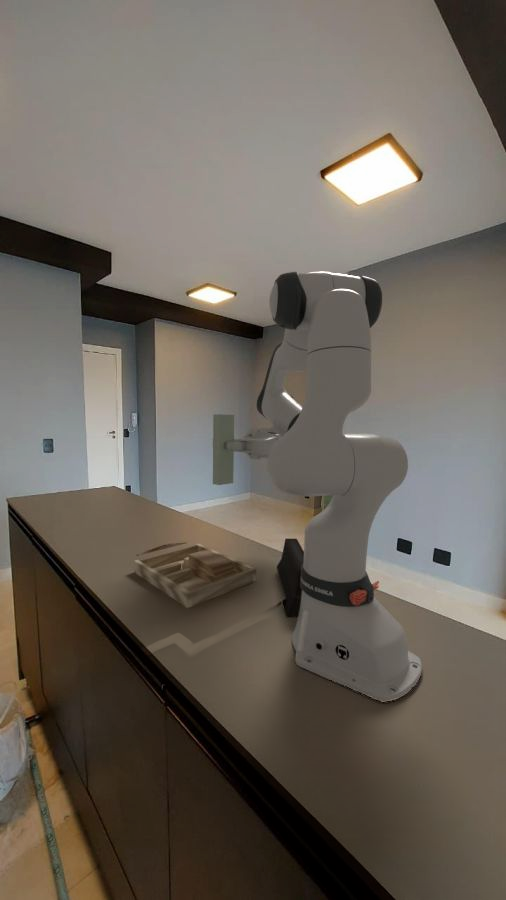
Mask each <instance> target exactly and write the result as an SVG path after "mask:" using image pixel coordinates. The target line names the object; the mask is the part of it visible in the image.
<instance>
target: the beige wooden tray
mask: <svg viewBox="0 0 506 900" xmlns="http://www.w3.org/2000/svg"><path fill="white" fill-rule="evenodd" d="M204 550H209V551H211V552H213V553H215V554H217V555H219V556H221V557H223V558H225V559H227V560H229V561H231V562H232V565H234V571H235V572H237V574H235V575H232V576H229V577H226V578H224V579H221V580H218V581H215V582H213V583H208V582H206V581H204V580H203V579H201V578H199V577H197V576H195V575H193V574H192V573H191V569H190V568H186V569H182V563H184V558H187V557H189V554H192V553H196V552H200V551H204ZM133 565H134V567H133V569H134V572H133V573H134V574H136V575H137V576H138V577H141V578H142V579H144V580H145V581H147V582H148V583H149V584H150V585H152V586H153V587H156V588H157V589H158V590H160V591H161V592H163V593H164V594H166V595H167V596H168V597H171V598H172V599H173V600H175V601H176V602H178V603H179V604H181V605H182V607H183V606H184V607H185V608H187V609H189V608H192V607H194V606H197V605H199V604H202V603H203V602H206V601H209V600H212V599H215V598H217V597H219V596H222V595H224V594H226V593H229V592H232V591H234V590H237V589H238V588H241V587H244V586H246V585H250V584H252V583H254V582H257V567H256V568H255V567H253V566H250V565H248V564H246V563H244V562H241V561H239V560H237V559H235V558H233V557H230V556H228V555H227V554H224V553H221V552H219V551H217V550H215V549H212V548H211V547H207V546H205V545H203V544H201V543H195V544H193V545H189V546H185V547H181V548H178V549H172V550H169V551H166V552H163V553H159V554H155V555H151V556H146V557H143V558H139V559H136V560H133Z"/></svg>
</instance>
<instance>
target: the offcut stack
mask: <svg viewBox="0 0 506 900" xmlns="http://www.w3.org/2000/svg"><path fill="white" fill-rule="evenodd" d="M186 568H190V569H191V573H192V574H193V575H195V576H197V577H199V578H201V579H203V580H204V581H206V582H208V583H213V582H215V581H218V580H221V579H224V578H226V577H229V576H232V575H235V574H237V572H235V571H234V565H232V562H231V561H229V560H227V559H225V558H223V557H221V556H219V555H217V554H215V553H213V552H211V551H209V550H204V551H200V552H196V553H192V554H189V557H187V558H184V563H182V569H186Z"/></svg>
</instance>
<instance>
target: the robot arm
mask: <svg viewBox="0 0 506 900" xmlns="http://www.w3.org/2000/svg"><path fill="white" fill-rule="evenodd" d="M382 307H383V291H382V288H381V286H380V284H379V282H378V281H377V280H376V279H373V278H372V277H368V276H364V275H359V276H355V275H348V274H343V273H335V272H334V273H333V272H330V271H309V272H305V271H304V272H297V271H289V272H285V273H281V274H280V275H279V276H277V278H276V279H275V281H274V283H273V286H272V289H271V292H270V295H269V309H270V313H271V317H272V320H273V322H274V323H275V324H276V325H277V326H278V327H280V328H282V329H283V328H284V333H283V334H284V336H283V340H282V342H281V343H279V344H278V345H277V346H276V347H275V349H274V350H273V352H272V355H271V357H270V361H269V364H268V367H267V371H266V375H265V379H264V383H263V385H262V389H261V390H260V393H259V394H258V396H257V398H256V399H257V400H256V410H257V412H258V413H259V414H260V415H261V416H262V417H264V418H265V419H267V420H268V421H269V422H270V423H271V425H272V427H271V428H256V427H255V428H251V429H249V430H248V431H247V433H245V435H244V437H243V436H234V442H225V443H224V449H228V450H230V449H234V453H235V452H238V453H244V454H246V455H247V456H248V458H250V459H251V460H257V461H258V460H266V459H267V461H266V462H267V463H266V465H267V472H268V476H269V479H270V481H271V482H272V484H273V485H274V487H275V488H276V489H277V490H278V491H279V492H280V493H284V494H290V495H294V496H299V497H301V496H302V497H324V496H326V497H327V496H332V497H331V500H330V501H329V503H328V504H327V506H326V507H325V508H324V510H322V511H321V512H319V513H318V514H316V515H315V516H313V517H312V518H311V519H310V520H309V521H308V523H307V525H306V527H305V529H304V539H303V540H304V543H303V551H304V564H303V565H302V567H301V578H300V586H301V589H302V595H301V604H300V610H299V615H298V617H297V620H296V624H295V628H294V631H293V633H292V636H291V643H292V646H293V648H294V651H295V658H294V661H295V664H296V665H297V666H298V667H300V668H303V669H304V670H307V671H309V672H311V673H314V674H316V675H318V676H320V677H323V678H325V679H326V680H330V681H331V680H332V682H334V683H336V682H337V683H336V684H338V683H340V684H342V685H344V686H343V687H345V686H347V687H349V688H352V689H355V690H357V691H359V692H361V693H364V694H366V695H369V696H372V697H373V698H376V699H378V700H382V701H386V700H390V699H394V698H397V697H400V696H401V695H403V694H405V693H406V692H408V691H409V690H411V688H412V687H414V686H415V685H416V686H417V684H418V683H419V682H418V680H419V678H420V676H421V677H422V674H421V673H423V668H422V667H423V666H422V665H423V664H422V660H421V658H420V657H419V656H417V655H416V654H414V653H413V652H411V651H409V646H408V639H407V635H406V631H405V630H404V628H403V626H402V625H401V624H400V623H399V622H398V621H397V620H396V619H395V618H394V617H393V616H392V615H391V613H390V612H389V611H388V610H387V608H385V607H384V605H383V604H381V602H380V601H379V600H378V599H377V598H376V597H375V593H374V592H375V591H376V590H377V589H378V588H379V587H380V586H379V583H380V581H379V580H377V581H375V582H373V583H372V582H371V581H370V578H369V574H368V572H367V571H366V570H367V569H366V568H367V555H368V545H369V536H370V532H371V528H372V525H373V522H374V519H375V518H376V515H377V513H378V511H379V510H380V508H381V506H382V504H384V501H385V500H386V499H387V498H388V497H389V496H390V495H391V493H392V492H393V491H395V490H396V489H398V488H399V487H400V486H401V485H402V484H403V483H404V481H405V480H406V477H407V473H408V471H409V459H408V455H407V452H406V450H405V448H404V447H403V445H402V444H401V443H400V441H398V440H396V439H394V438H391V437H388V436H384V435H378V434H374V433H343V428H344V424H345V421H346V418H347V417H348V415H349V414H351V413H352V412H354V411H357V410H358V409H360V408H361V407H362V406H364V405H365V403H367V401H368V400H369V398H370V396H371V392H372V338H371V337H372V335H371V329H372V327H373V326H374V325H375V323H376V322H377V321H378V320H379V318H380V314H381V311H382ZM289 372H291V373H300V374H301V373H302V374H303V373H306V386H305V396H304V401H303V404H300V403H299V402H298V401H296V400H295V399H294V398H293V397H292V396H291V395H289V393H288V391H287V390H286V388H285V383H286V380H287V378H288V374H289ZM420 679H421V678H420ZM419 681H420V680H419ZM417 682H418V683H417ZM416 683H417V684H416ZM340 684H339V685H340ZM342 685H341V686H342ZM416 686H415V687H416ZM347 687H346V688H347ZM415 687H414V688H415ZM349 688H348V689H349ZM391 690H392V691H394V692H392V691H391ZM411 691H412V690H411Z"/></svg>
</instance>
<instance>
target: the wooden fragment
mask: <svg viewBox="0 0 506 900" xmlns="http://www.w3.org/2000/svg"><path fill="white" fill-rule="evenodd" d="M184 544H186V542H175V543H167V544H161V545H159V546H156V547H154V548H152V549H149V550H148V549H147V550H146V551H143V552H141V553H140V552H139V553H137V554H136V556H142V555H146V554H149V553H154V552H158V551H161V550H165V549H169V548H173V547H177V546H181V545H184Z"/></svg>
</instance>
